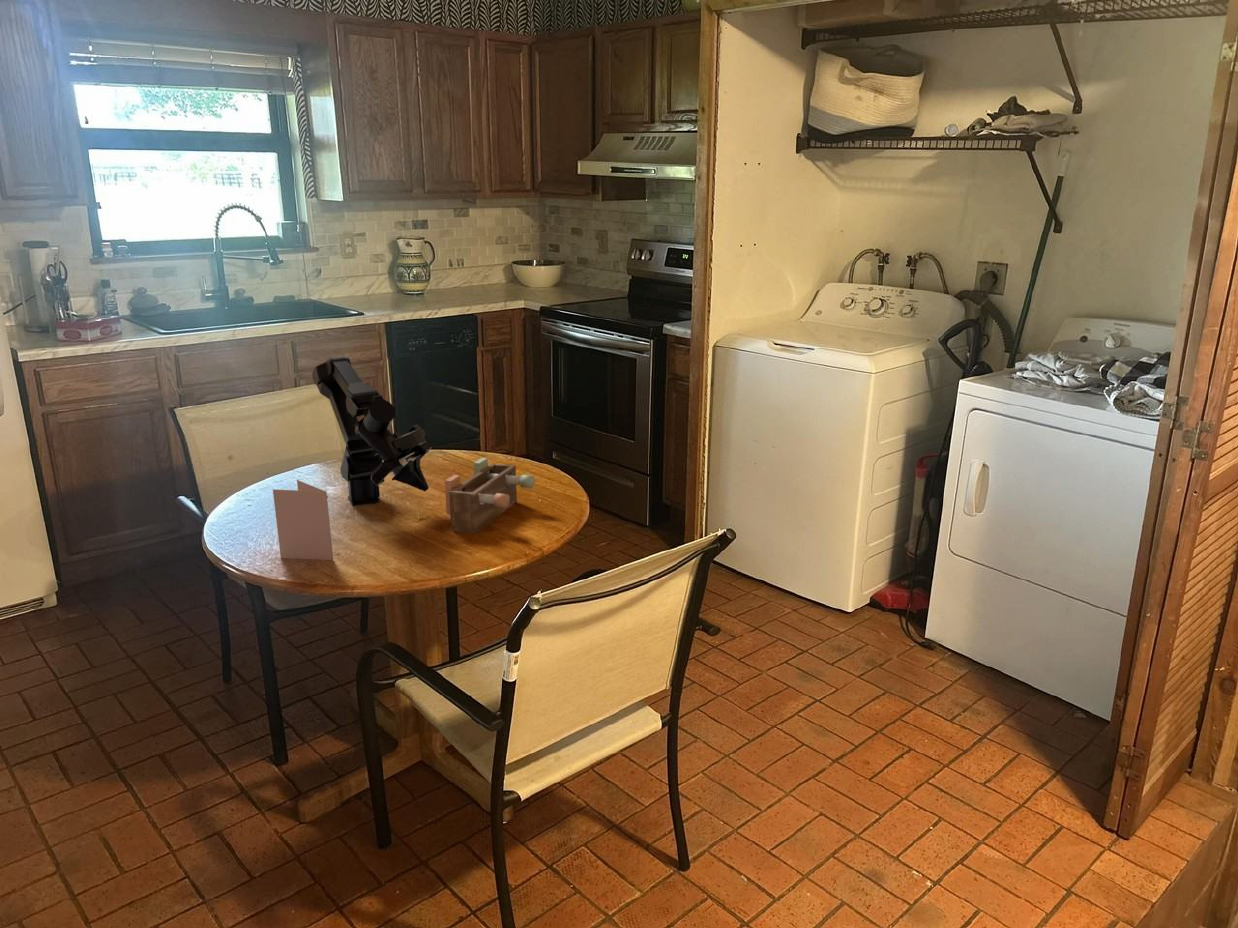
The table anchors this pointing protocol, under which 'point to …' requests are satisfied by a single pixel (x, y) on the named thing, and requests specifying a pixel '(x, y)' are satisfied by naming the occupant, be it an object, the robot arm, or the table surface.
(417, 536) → the table surface
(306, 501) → the greeting card
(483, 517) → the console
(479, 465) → the sage button
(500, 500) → the pink block with rod
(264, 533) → the table surface
